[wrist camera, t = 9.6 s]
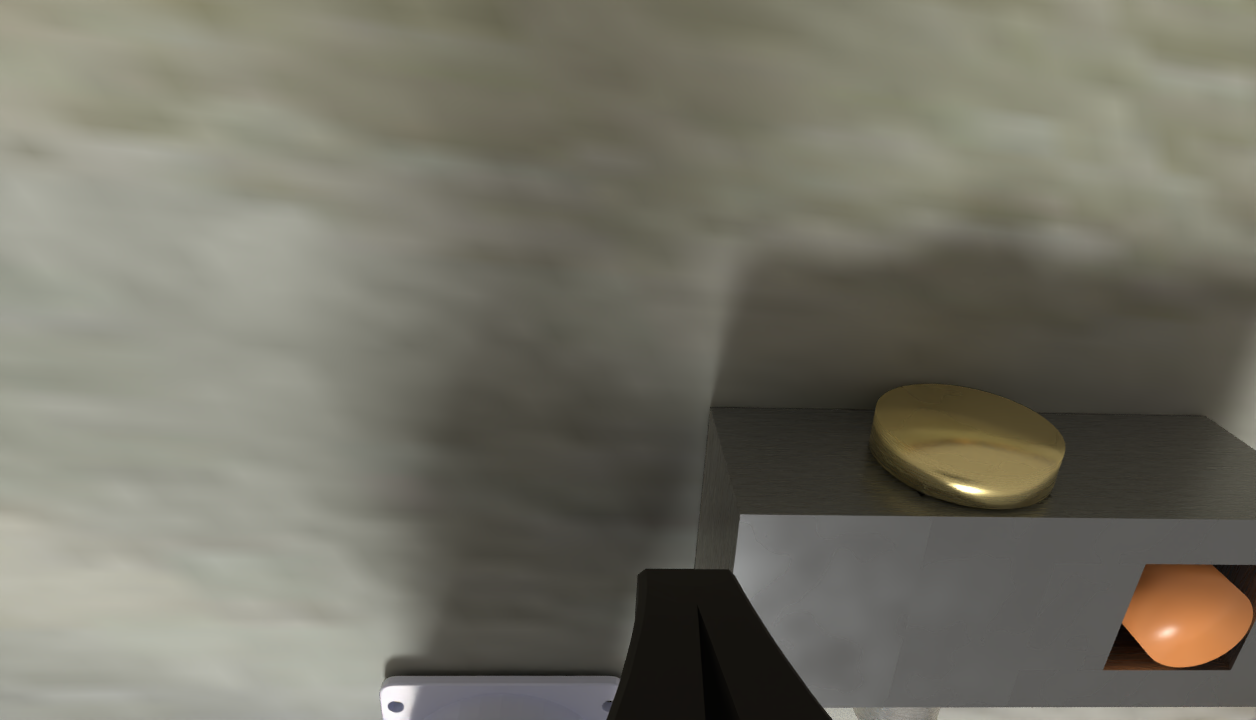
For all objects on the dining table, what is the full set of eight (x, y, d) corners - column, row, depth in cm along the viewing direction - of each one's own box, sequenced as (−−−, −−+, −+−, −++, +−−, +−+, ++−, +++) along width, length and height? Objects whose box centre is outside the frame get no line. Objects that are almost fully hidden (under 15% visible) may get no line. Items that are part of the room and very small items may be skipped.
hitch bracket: (1139, 578, 25) (1259, 706, 21) (694, 575, 24) (716, 707, 20) (1205, 416, 23) (1358, 520, 18) (710, 407, 22) (740, 514, 17)
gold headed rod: (935, 655, 26) (997, 776, 22) (803, 655, 25) (842, 777, 21) (1010, 385, 21) (1105, 473, 17) (853, 381, 21) (913, 470, 17)
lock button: (1165, 600, 22) (1229, 667, 20) (1075, 599, 22) (1129, 667, 19) (1198, 524, 21) (1269, 586, 18) (1103, 523, 20) (1164, 585, 18)
